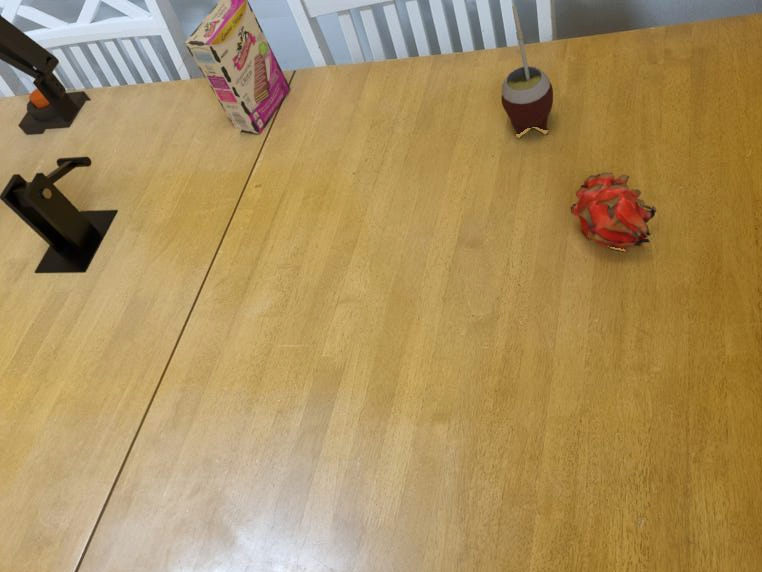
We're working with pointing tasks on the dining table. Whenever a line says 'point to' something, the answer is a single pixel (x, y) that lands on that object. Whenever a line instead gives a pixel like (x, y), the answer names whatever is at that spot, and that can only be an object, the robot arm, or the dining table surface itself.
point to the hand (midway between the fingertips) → (32, 118)
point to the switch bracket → (59, 224)
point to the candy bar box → (239, 64)
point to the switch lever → (54, 175)
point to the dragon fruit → (612, 212)
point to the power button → (38, 99)
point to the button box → (49, 115)
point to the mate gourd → (526, 92)
